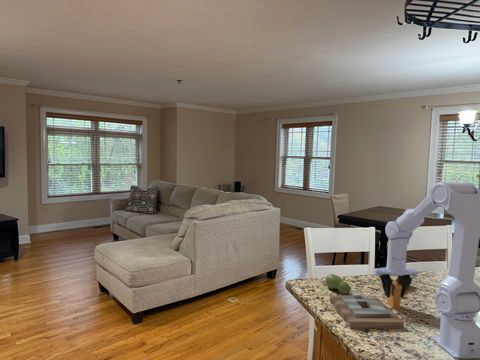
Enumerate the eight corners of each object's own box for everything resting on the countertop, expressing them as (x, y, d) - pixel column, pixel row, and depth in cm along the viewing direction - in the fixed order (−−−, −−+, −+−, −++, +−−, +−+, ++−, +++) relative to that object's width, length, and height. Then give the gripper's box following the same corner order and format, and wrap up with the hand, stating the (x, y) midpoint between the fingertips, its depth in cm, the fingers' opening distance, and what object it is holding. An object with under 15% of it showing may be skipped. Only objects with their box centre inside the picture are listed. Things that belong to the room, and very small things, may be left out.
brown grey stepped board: (403, 328, 96) (404, 315, 96) (350, 328, 95) (351, 314, 95) (374, 301, 114) (375, 290, 114) (329, 300, 113) (330, 289, 113)
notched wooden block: (400, 308, 109) (401, 285, 108) (393, 308, 109) (394, 285, 108) (393, 302, 114) (394, 280, 113) (386, 302, 113) (387, 280, 113)
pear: (332, 270, 128) (355, 282, 120) (329, 282, 129) (352, 295, 121) (324, 273, 124) (347, 286, 117) (321, 286, 125) (343, 299, 118)
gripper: (410, 253, 114) (407, 291, 115) (370, 253, 114) (367, 291, 115) (422, 260, 107) (419, 300, 108) (380, 259, 107) (377, 299, 108)
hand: (393, 296), depth 111 cm, fingers open, 4 cm apart
